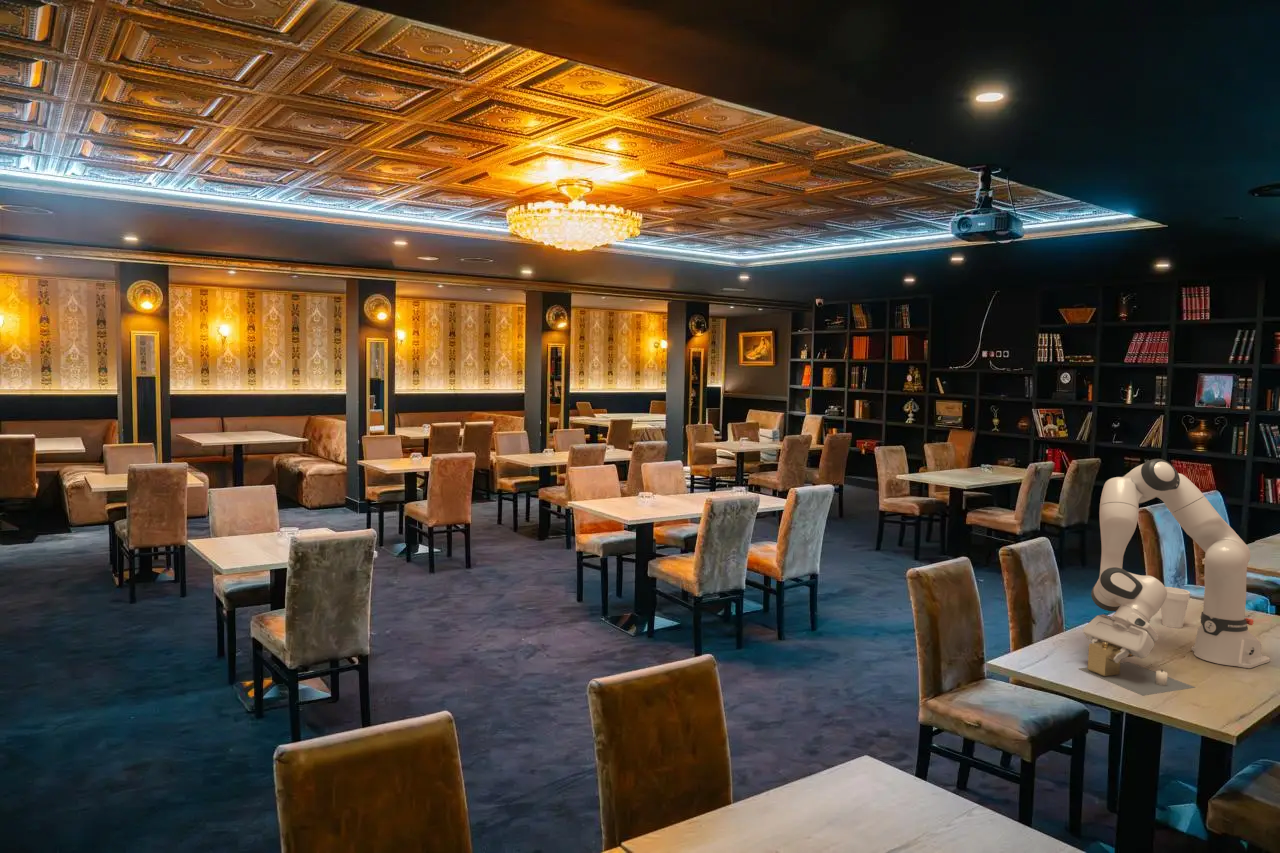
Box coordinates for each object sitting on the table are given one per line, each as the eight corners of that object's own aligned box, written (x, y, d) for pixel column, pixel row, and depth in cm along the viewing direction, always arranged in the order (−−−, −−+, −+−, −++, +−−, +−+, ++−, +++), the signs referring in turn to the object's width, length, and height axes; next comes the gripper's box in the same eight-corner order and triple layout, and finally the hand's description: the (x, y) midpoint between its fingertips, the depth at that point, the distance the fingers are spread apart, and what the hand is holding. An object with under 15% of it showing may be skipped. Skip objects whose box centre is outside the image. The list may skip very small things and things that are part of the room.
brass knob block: (1102, 667, 258) (1104, 638, 257) (1119, 674, 252) (1121, 644, 252) (1087, 669, 256) (1089, 640, 255) (1104, 676, 250) (1106, 646, 249)
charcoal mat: (1128, 664, 265) (1128, 661, 265) (1195, 690, 244) (1195, 687, 244) (1077, 671, 257) (1077, 668, 257) (1142, 698, 237) (1142, 695, 237)
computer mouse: (1160, 681, 248) (1161, 667, 248) (1168, 685, 245) (1170, 670, 245) (1153, 682, 247) (1154, 668, 247) (1162, 686, 244) (1163, 671, 244)
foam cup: (1151, 622, 311) (1153, 587, 310) (1170, 620, 313) (1172, 586, 312) (1174, 630, 302) (1176, 594, 301) (1193, 628, 304) (1196, 593, 303)
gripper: (1094, 606, 265) (1069, 639, 262) (1154, 625, 246) (1127, 661, 243) (1104, 619, 267) (1079, 652, 264) (1164, 639, 248) (1137, 675, 245)
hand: (1102, 657), depth 253 cm, fingers closed on brass knob block, 6 cm apart
